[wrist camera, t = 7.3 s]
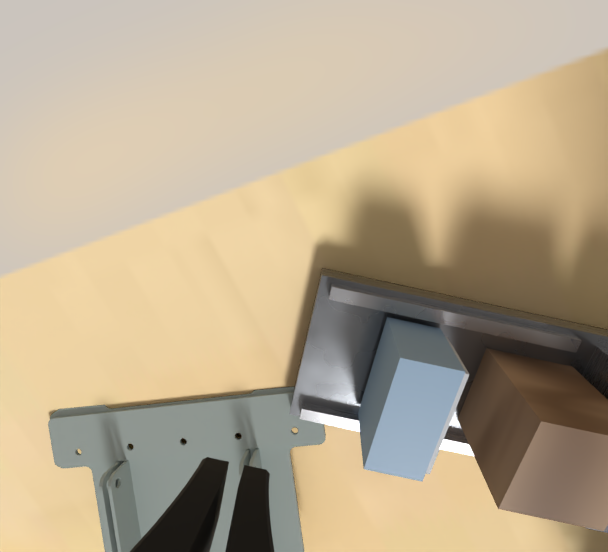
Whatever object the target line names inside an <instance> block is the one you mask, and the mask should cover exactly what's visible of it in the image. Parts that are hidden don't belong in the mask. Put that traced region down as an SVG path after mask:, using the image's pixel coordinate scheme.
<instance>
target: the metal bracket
mask: <svg viewBox="0 0 608 552" xmlns="http://www.w3.org/2000/svg"><path fill="white" fill-rule="evenodd" d="M294 387H295V386H294ZM294 387H284V388H274V389H263V390H254V391H253V392H252V393H250V394H242V395H233V396H224V397H214V398H205V399H196V400H186V401H177V402H168V403H159V404H149V405H140V406H131V407H122V408H108V407H106V406H105V405H98V406H87V407H77V408H67V409H58V410H57V411H56V412H54V413H53V414H52V415H51V417H50V421H49V423H48V426H49V432H50V438H51V444H52V450H53V456H54V462H55V465H57V466H58V467H61V468H72V467H83V466H86V467H89V468H90V469H91V470H92V473H93V479H94V486H95V492H96V498H97V504H98V511H99V517H100V523H101V529H102V536H103V542H104V548H105V552H130V551H131V550H132V548H133V547H134V546H135V545H136V544H137V543H138V542H139V541H140V540H141V539H142V537H143V536H144V535H145V534H146V533H147V532H148V531H149V530H150V529H151V527H152V526H153V525H154V524H155V523H156V522H157V520H158V519H159V518H160V517H161V516H162V514H163V513H164V512H165V511H166V509H167V508H168V507H169V506H170V505H171V503H172V502H173V501H174V500H175V498H176V497H177V496H178V494H179V493H180V492H181V490H182V489H183V488H184V486H185V485H186V484H187V482H188V481H189V480H190V478H191V477H192V475H193V474H194V472H195V471H196V469H197V468H198V466H199V464H200V463H201V461H202V459H204V458H206V457H209V458H214V459H219V460H223V461H228V462H229V465H228V471H227V476H226V482H225V487H224V493H223V498H222V504H221V509H220V515H219V519H218V523H217V527H216V530H215V534H214V538H213V541H212V545H211V548H210V552H225V550H226V545H227V540H228V535H229V530H230V525H231V520H232V515H233V510H234V505H235V500H236V495H237V490H238V486H239V482H240V479H241V475H242V472H243V468H244V465H247V466H252V467H256V468H261V469H266V470H267V471H268V472H269V473H270V477H269V508H270V521H271V531H272V538H273V545H274V552H304V545H303V538H302V532H301V525H300V518H299V511H298V504H297V497H296V490H295V483H294V477H293V470H292V463H291V456H290V450H291V449H292V448H293V447H297V446H308V445H318V444H322V443H323V442H324V441H325V429H324V424H321V423H316V422H311V421H307V420H302V419H299V418H300V416H295V415H290V414H289V413H290V406H291V402H292V397H293V392H294ZM293 427H296V428H297V429H298V432H297V433H293V432H292V430H291V429H292V428H293ZM236 433H240V434H241V435H242V438H240V439H239V438H237V437H236ZM182 438H184V439H186V441H187V443H186V444H183V443H182V441H181V439H182ZM129 444H132V445H133V449H130V448H129ZM77 449H80V450H81V451H82V454H79V453H78V451H77Z"/></svg>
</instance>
